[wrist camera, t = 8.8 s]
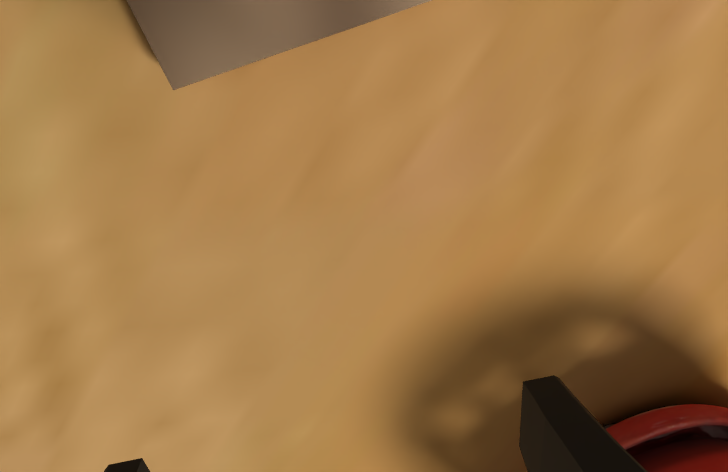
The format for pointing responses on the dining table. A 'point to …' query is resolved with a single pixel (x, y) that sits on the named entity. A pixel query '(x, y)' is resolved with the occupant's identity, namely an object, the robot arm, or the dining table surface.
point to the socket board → (244, 30)
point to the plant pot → (676, 438)
